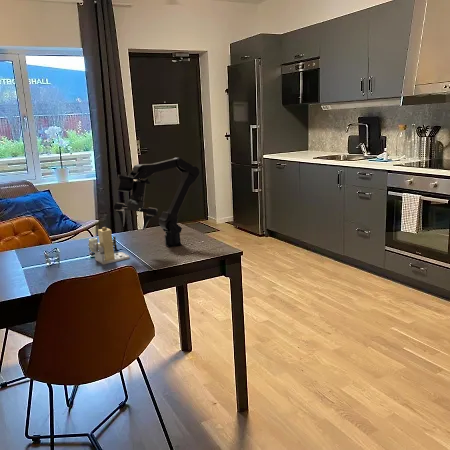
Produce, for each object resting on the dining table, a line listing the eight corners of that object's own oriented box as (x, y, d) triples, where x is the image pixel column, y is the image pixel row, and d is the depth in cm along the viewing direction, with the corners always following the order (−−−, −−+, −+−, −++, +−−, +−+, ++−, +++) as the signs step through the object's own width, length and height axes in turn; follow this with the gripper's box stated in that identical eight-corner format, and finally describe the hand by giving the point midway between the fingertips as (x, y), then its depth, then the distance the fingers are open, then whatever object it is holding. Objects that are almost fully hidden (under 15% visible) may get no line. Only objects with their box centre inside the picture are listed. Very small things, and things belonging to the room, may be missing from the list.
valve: (89, 255, 214) (116, 252, 216) (87, 241, 213) (115, 238, 215) (90, 251, 221) (117, 248, 223) (88, 237, 219) (115, 234, 221)
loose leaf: (110, 255, 207) (106, 225, 204) (114, 258, 203) (111, 227, 200) (101, 257, 205) (97, 227, 202) (105, 260, 201) (101, 229, 198)
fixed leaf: (121, 254, 212) (119, 237, 211) (129, 258, 205) (127, 241, 203) (94, 260, 206) (92, 243, 204) (101, 264, 198) (99, 247, 197)
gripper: (112, 190, 200) (107, 226, 201) (155, 197, 200) (150, 233, 201) (118, 189, 211) (114, 224, 212) (160, 196, 211) (155, 230, 212)
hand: (133, 228), depth 209 cm, fingers open, 9 cm apart
